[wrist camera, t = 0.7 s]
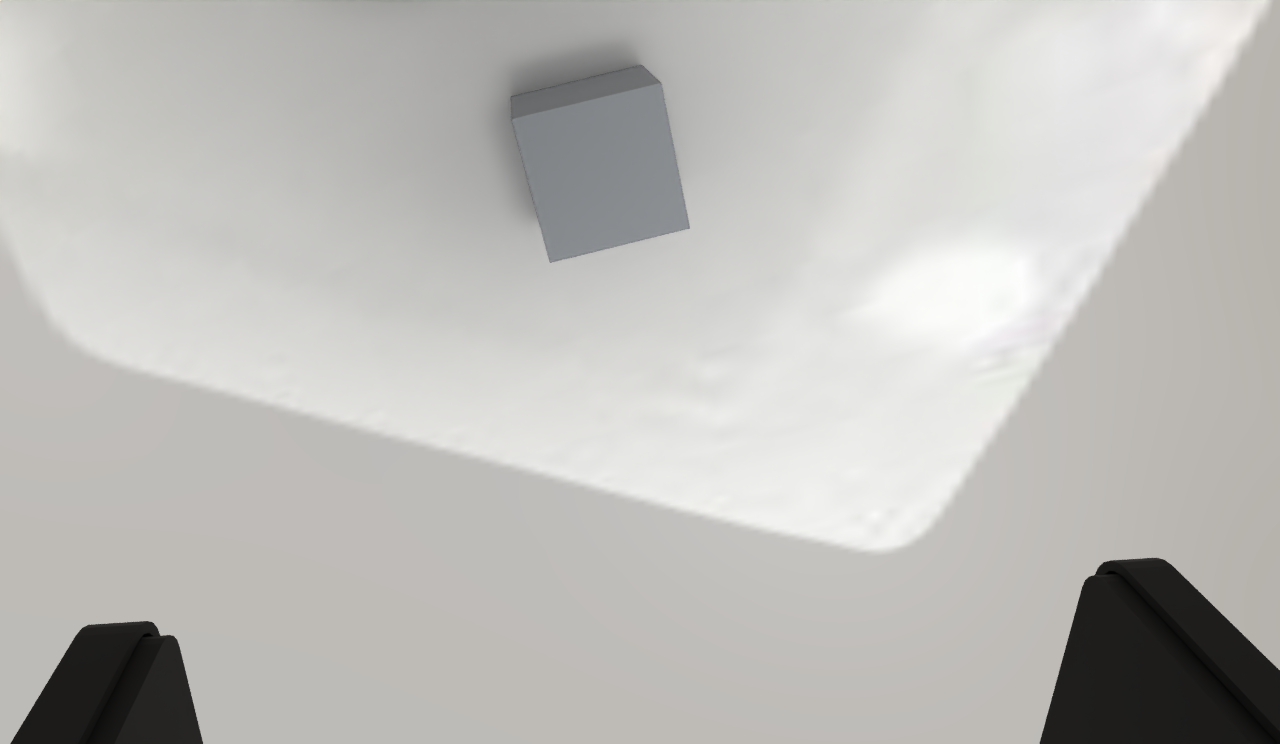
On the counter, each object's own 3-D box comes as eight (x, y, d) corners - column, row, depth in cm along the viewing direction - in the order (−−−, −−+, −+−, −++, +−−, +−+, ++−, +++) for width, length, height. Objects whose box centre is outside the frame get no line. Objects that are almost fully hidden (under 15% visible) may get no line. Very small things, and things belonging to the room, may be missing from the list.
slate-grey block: (510, 96, 35) (511, 119, 31) (641, 64, 35) (661, 83, 31) (544, 223, 37) (549, 262, 33) (667, 193, 37) (690, 228, 33)
